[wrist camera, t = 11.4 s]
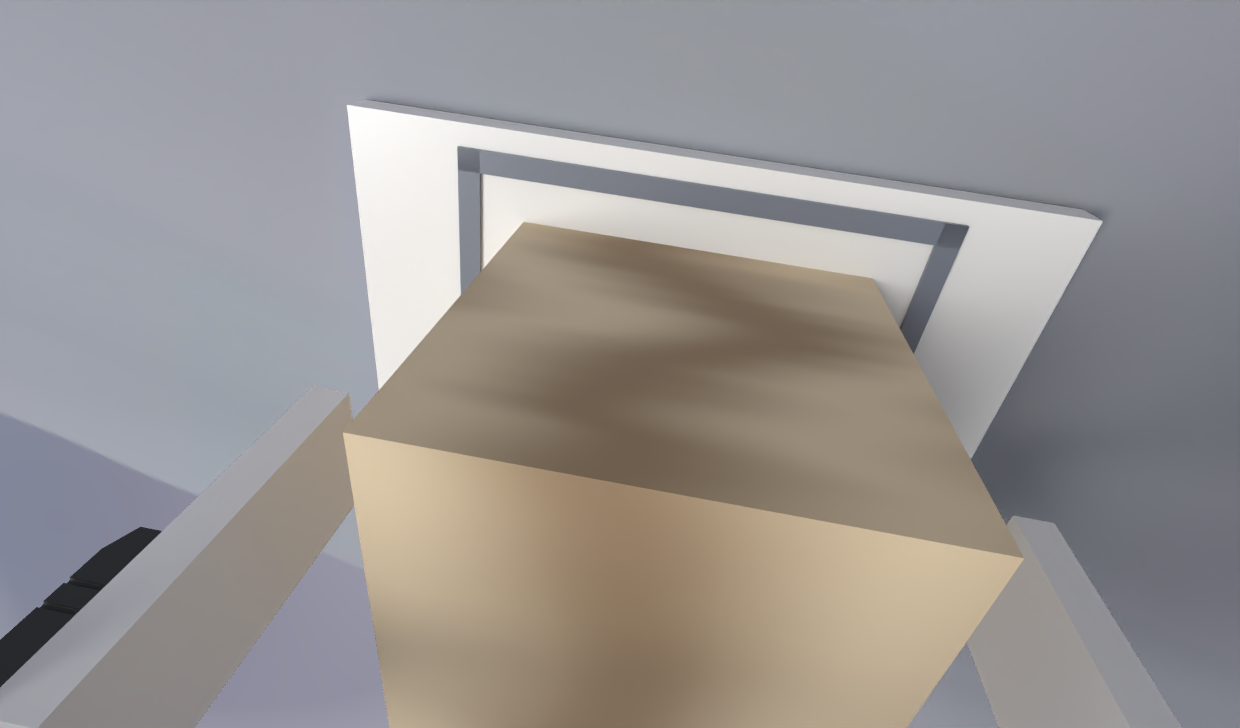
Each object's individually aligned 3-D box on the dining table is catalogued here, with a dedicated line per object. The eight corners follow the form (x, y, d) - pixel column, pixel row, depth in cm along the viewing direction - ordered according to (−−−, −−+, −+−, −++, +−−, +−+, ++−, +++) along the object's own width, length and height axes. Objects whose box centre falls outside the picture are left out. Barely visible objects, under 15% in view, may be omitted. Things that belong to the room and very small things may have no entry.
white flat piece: (1082, 209, 13) (1105, 222, 12) (887, 577, 19) (894, 601, 19) (365, 99, 14) (344, 105, 13) (402, 485, 20) (390, 504, 20)
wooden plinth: (872, 278, 14) (1024, 557, 7) (780, 528, 18) (819, 853, 11) (523, 221, 14) (342, 432, 7) (515, 478, 18) (395, 763, 12)
